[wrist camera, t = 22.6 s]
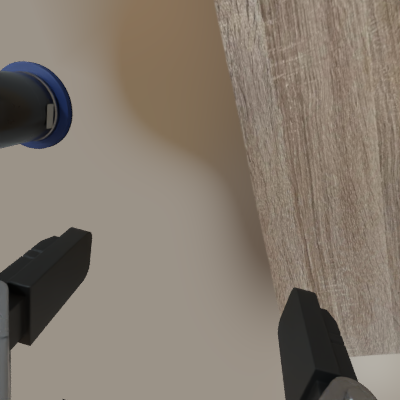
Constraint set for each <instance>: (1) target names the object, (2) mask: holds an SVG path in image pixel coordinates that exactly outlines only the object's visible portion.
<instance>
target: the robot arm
mask: <svg viewBox="0 0 400 400" xmlns="http://www.w3.org/2000/svg"><path fill="white" fill-rule="evenodd" d="M59 116H60V110H59V104H58V100H57V98H56V95H55V93H54V91H53V90H52V88H51V87H50V86H49V84H48V83H47V82H46V81H45V80H43V79H42V78H41V77H39V76H38V75H36V74H33V73H30V72H23V71H15V72H12V71H0V148H4V147H8V146H12V145H17V144H22V143H26V142H30V141H38V140H42V139H45V138H47V137H49V136H50V135H51V134H52V133H53V132H54V131H55V129H56V127H57V125H58V122H59ZM91 243H92V234H91V232H88V231H84V230H80V229H76V228H73V227H71V228H70V229H68V230H67V231H66V232H65V233H64V234H62V235H61V236H60V237H56V236H53V237H50V238H48V239H45V240H42V241H41V242H39V243H38V244H37V245H35V246H34V247H33V248H32V249H31V250H29V251H28V252H27V253H25V254H24V255H23V257H22V256H21V257H20V258H19V259H18V260H16V261H15V262H14V263H12V264H11V265H10V266H9V267H7V268H6V269H5V270H3V271H2V272H1V273H0V400H11V352H10V350H11V349H12V348H13V347H14V346H15V345H16V344H17V342H19V343H22V344H26V345H29V346H31V344H32V343H33V342H34V341H35V339H36V338H37V337H38V336H39V334H40V333H41V332H42V331H43V330H44V328H45V327H46V326H47V325H48V323H49V322H50V321H51V320H52V318H53V317H54V316H55V315H56V313H57V312H58V311H59V310H60V309H61V307H62V306H63V305H64V304H65V302H66V301H67V300H68V299H69V298H70V296H71V295H72V294H73V293H74V291H75V290H76V289H77V288H78V287H79V285H80V284H81V283H82V282H83V280H84V279H85V277H86V275H87V272H88V269H89V265H90V254H91ZM278 339H279V348H280V356H281V365H282V373H283V381H284V390H285V398H286V400H377V399H376V397H375V396H374V395H373V394H372V393H371V392H370V391H369V390H368V389H367V388H366V387H365V386H363V385H362V384H361V383H359V382H358V380H357V377H356V375H355V372H354V369H353V367H352V364H351V361H350V358H349V356H348V353H347V350H346V347H345V346H344V342H343V339H342V336H340V331H339V328H338V325H337V323H336V321H335V320H334V318H333V317H332V316H331V315H330V313H329V312H328V311H327V310H325V309H321V308H320V306H319V303H318V299H317V296H316V294H315V293H314V292H310V291H306V290H303V289H299V288H293V290H292V291H291V294H290V296H289V298H288V301H287V303H286V306H285V308H284V311H283V313H282V315H281V318H280V322H279V326H278ZM63 400H64V399H63Z"/></svg>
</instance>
